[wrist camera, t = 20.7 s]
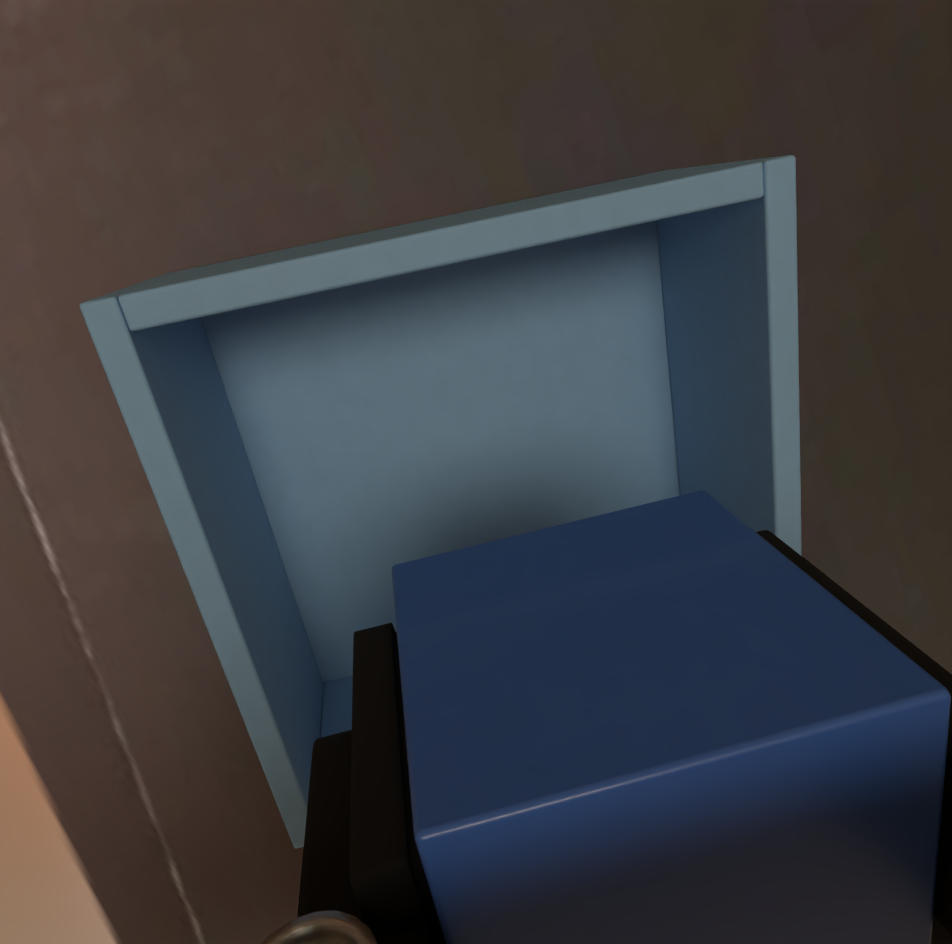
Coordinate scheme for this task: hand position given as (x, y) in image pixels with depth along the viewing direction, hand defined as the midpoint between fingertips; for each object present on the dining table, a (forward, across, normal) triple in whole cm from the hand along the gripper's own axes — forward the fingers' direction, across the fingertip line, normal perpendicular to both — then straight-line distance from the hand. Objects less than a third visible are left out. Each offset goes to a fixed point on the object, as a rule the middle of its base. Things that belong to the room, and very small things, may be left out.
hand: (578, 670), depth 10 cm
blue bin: (+9, 0, 0) cm, 9 cm away
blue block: (0, 0, 0) cm, 0 cm away
